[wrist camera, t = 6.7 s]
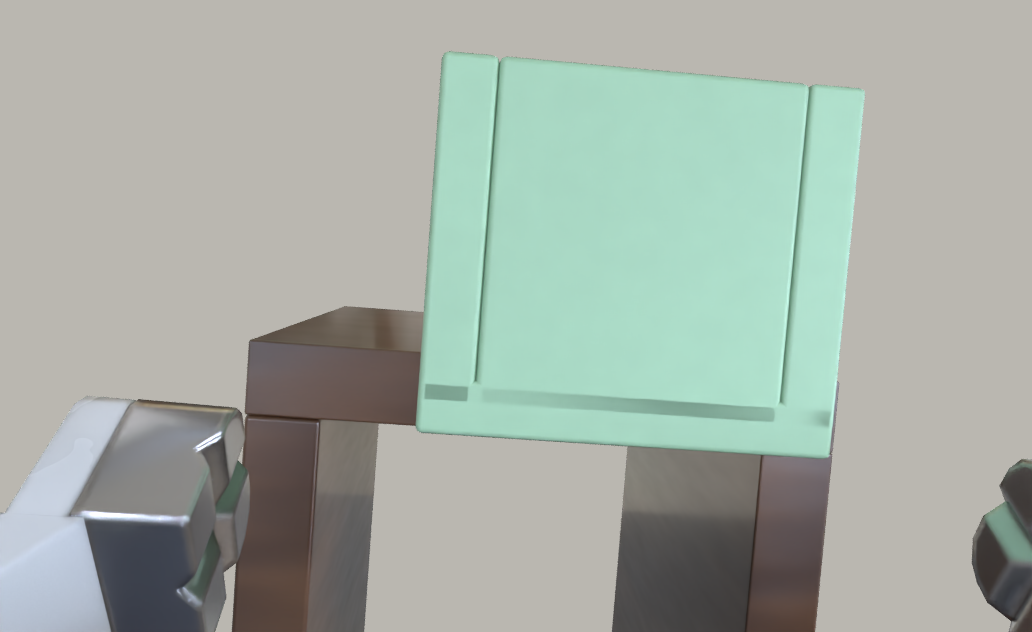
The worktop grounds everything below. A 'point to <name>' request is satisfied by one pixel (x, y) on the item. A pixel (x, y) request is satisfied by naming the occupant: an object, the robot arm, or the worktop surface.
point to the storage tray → (637, 257)
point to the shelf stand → (393, 400)
